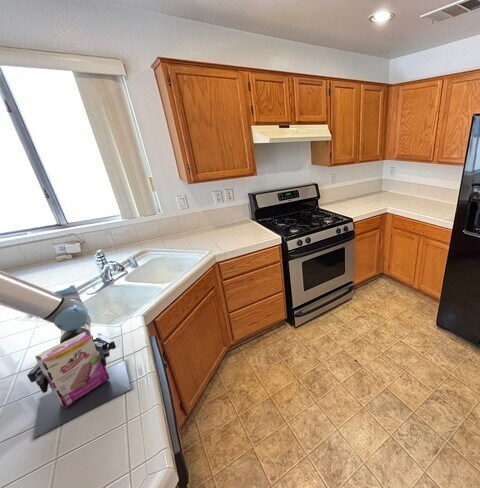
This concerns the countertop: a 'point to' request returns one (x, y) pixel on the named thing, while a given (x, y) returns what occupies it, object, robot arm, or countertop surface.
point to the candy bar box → (73, 368)
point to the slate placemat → (82, 400)
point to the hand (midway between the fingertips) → (74, 374)
